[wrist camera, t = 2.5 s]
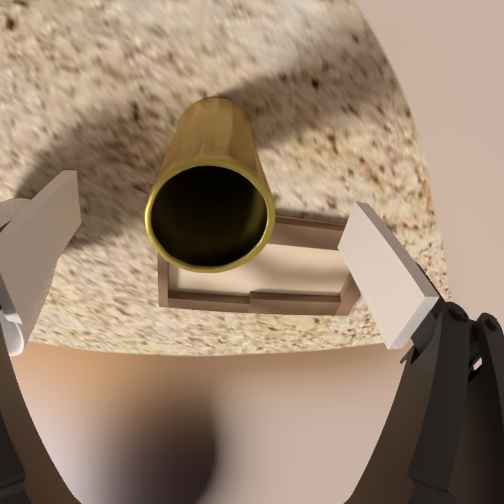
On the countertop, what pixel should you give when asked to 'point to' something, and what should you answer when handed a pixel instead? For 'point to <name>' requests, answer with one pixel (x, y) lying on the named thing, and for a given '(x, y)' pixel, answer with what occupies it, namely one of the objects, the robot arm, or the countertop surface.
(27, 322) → the mug
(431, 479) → the robot arm
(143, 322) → the countertop surface
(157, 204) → the vase
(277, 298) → the shallow serving tray
